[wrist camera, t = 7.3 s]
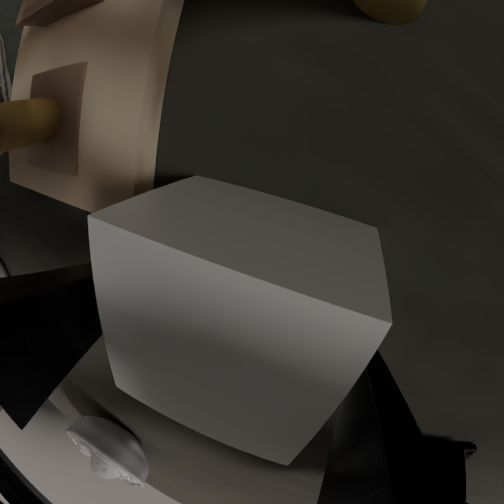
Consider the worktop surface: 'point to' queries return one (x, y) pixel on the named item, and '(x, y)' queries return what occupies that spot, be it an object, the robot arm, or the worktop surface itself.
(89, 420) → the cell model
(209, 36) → the worktop surface
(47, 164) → the board
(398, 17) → the peg
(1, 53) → the washcloth
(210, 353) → the grey rounded cube
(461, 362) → the worktop surface
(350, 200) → the worktop surface
